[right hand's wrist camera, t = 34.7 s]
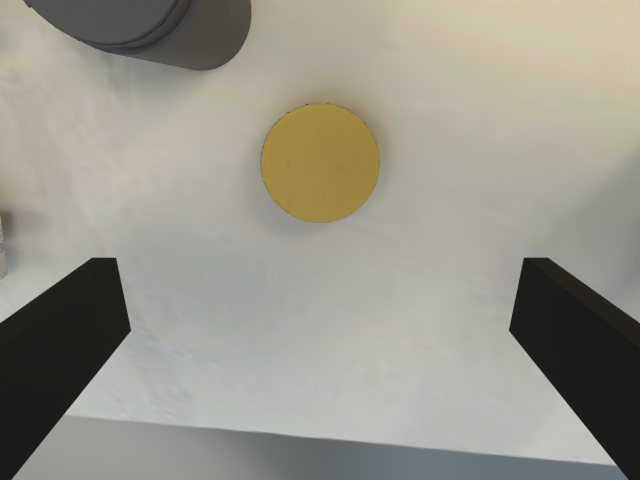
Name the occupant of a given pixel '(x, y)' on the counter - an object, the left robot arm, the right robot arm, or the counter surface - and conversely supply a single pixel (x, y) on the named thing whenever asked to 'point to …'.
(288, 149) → the lid
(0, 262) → the toy
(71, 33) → the jar
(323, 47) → the counter surface
